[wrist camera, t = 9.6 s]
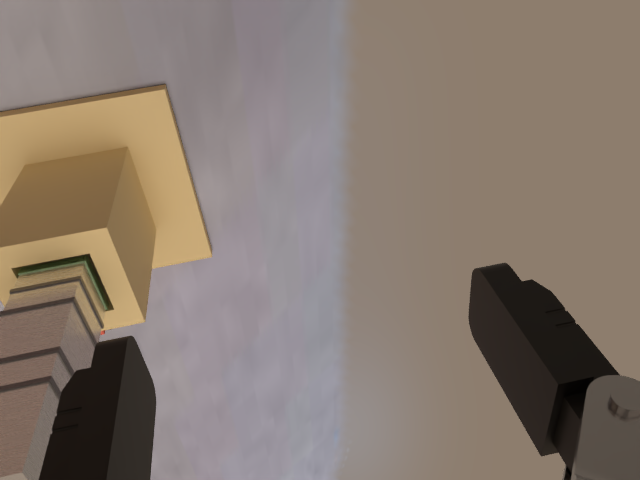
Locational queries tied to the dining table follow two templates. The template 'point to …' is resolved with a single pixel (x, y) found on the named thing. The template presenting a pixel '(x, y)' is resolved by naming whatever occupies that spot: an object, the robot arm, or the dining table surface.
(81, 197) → the stand
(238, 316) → the dining table surface
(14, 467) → the column
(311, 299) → the dining table surface
